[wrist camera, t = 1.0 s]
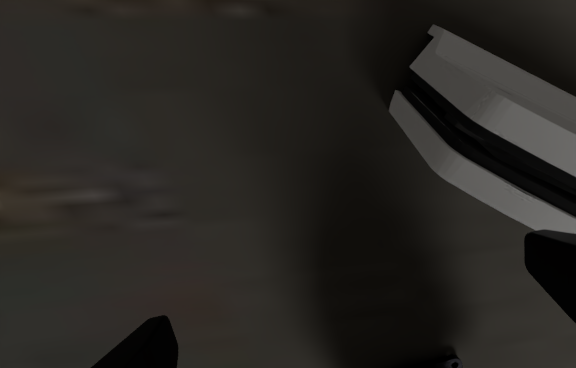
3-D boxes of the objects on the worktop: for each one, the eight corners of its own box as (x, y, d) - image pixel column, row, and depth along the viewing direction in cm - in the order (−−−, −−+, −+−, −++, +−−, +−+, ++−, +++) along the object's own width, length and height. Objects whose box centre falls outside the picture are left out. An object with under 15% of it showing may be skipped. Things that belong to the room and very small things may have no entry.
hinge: (662, 142, 21) (898, 258, 13) (597, 200, 23) (756, 331, 15) (426, 20, 19) (519, 62, 10) (379, 99, 21) (422, 187, 12)
